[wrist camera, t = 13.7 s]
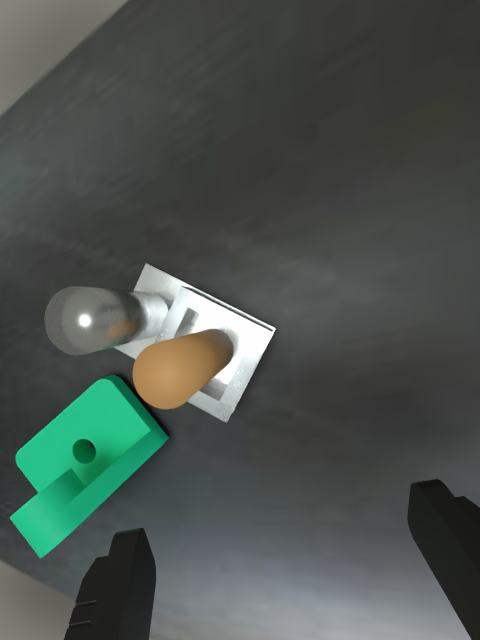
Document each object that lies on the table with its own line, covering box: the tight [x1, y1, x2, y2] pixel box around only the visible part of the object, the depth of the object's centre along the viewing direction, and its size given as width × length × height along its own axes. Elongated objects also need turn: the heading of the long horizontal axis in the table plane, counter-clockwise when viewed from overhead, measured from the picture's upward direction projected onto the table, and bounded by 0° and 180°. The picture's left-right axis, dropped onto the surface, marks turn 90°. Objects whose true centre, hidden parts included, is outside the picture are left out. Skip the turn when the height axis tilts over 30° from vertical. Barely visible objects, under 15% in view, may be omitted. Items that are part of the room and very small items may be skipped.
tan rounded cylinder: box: [133, 329, 234, 409], centre depth 23 cm, size 4×4×11 cm
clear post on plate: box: [45, 263, 276, 423], centre depth 25 cm, size 12×8×11 cm, turn 63°
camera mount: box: [10, 375, 169, 558], centre depth 27 cm, size 12×8×10 cm, turn 130°
